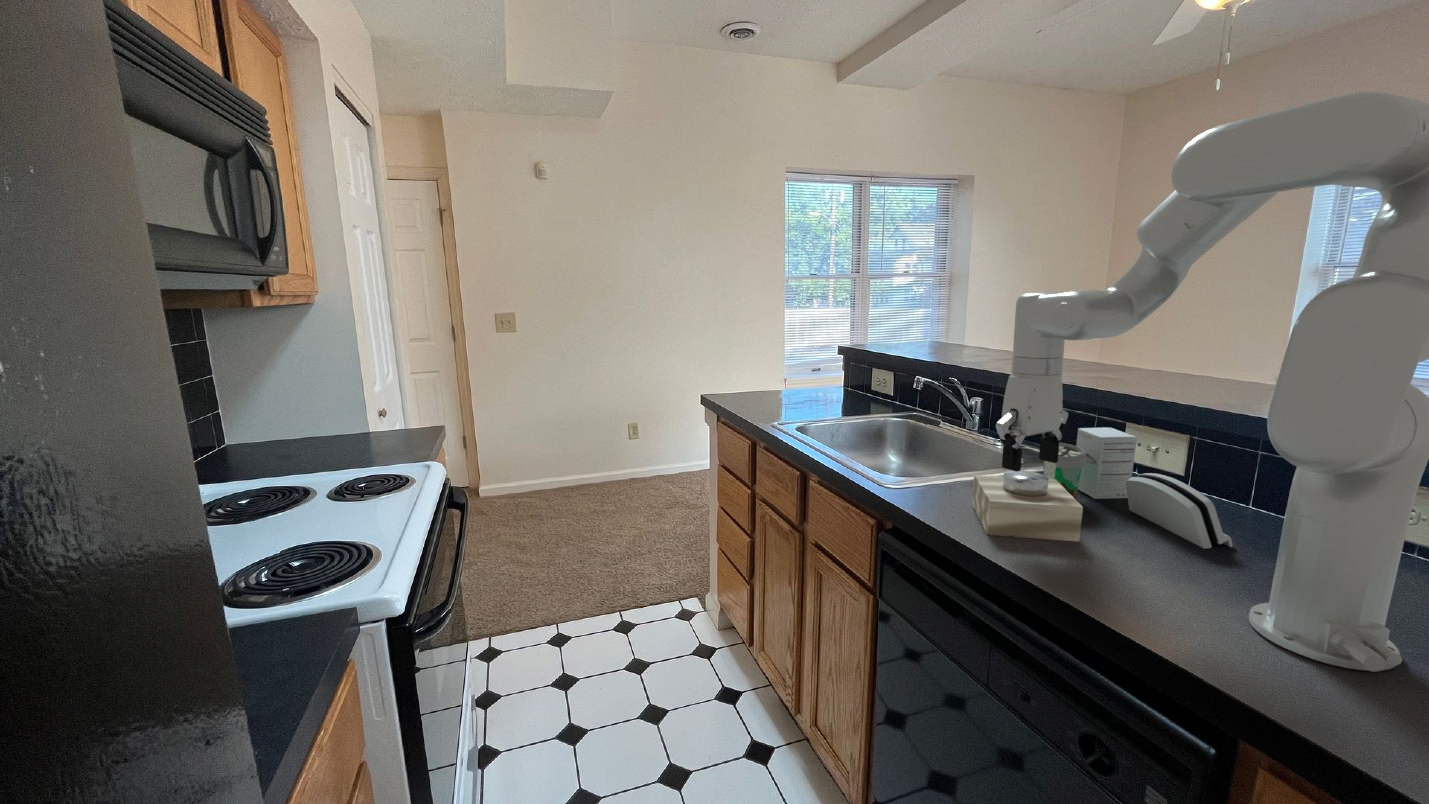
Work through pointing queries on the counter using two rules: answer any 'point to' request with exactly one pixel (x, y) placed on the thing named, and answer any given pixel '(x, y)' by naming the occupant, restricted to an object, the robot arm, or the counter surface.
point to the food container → (1067, 467)
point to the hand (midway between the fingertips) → (1030, 465)
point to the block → (1026, 511)
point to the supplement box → (1106, 462)
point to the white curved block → (1176, 508)
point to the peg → (1025, 483)
